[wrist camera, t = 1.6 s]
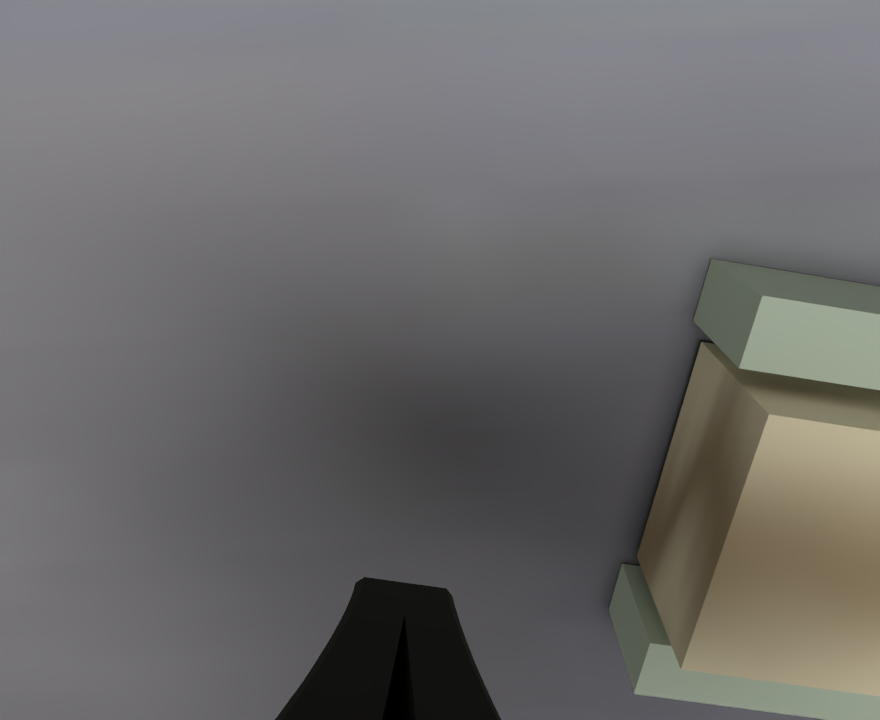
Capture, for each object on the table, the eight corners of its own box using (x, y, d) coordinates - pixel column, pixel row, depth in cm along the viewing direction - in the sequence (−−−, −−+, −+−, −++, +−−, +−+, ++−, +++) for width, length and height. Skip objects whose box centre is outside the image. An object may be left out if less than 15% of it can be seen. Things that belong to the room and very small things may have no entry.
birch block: (803, 580, 20) (885, 697, 16) (636, 556, 20) (680, 669, 16) (887, 371, 18) (1002, 450, 14) (701, 341, 18) (769, 414, 14)
